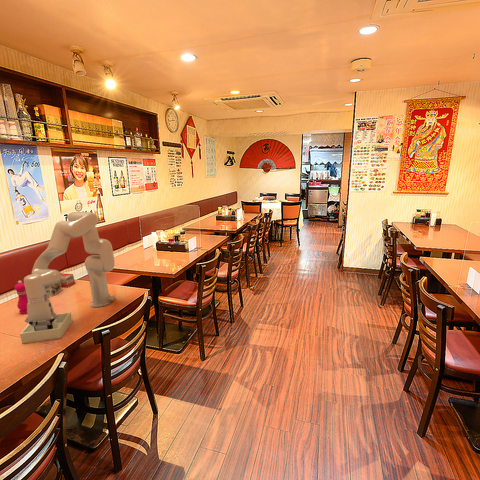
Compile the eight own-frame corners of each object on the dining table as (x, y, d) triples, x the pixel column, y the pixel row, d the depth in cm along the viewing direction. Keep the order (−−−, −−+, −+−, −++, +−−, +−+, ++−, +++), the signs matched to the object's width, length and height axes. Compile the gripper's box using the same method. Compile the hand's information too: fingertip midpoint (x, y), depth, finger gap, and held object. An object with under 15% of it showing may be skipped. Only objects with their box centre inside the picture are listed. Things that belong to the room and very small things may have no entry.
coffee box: (54, 296, 191) (49, 273, 187) (44, 296, 191) (40, 274, 187) (62, 290, 200) (58, 269, 196) (53, 290, 200) (49, 269, 196)
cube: (52, 328, 147) (50, 320, 145) (48, 334, 142) (46, 325, 141) (41, 330, 146) (39, 321, 144) (36, 335, 141) (34, 326, 140)
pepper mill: (25, 315, 166) (18, 283, 162) (15, 314, 168) (8, 282, 163) (36, 309, 173) (30, 278, 168) (27, 308, 175) (20, 278, 170)
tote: (72, 321, 159) (70, 312, 157) (61, 338, 142) (59, 328, 141) (37, 325, 155) (35, 316, 153) (22, 343, 139) (19, 333, 137)
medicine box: (49, 287, 207) (47, 276, 205) (58, 282, 215) (56, 272, 213) (67, 288, 204) (65, 277, 202) (75, 283, 212) (73, 273, 210)
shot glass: (47, 331, 147) (44, 319, 146) (40, 328, 151) (38, 316, 149) (60, 325, 153) (58, 314, 151) (54, 322, 157) (52, 311, 155)
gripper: (59, 293, 145) (65, 325, 149) (21, 297, 141) (29, 330, 145) (53, 300, 138) (60, 333, 142) (13, 304, 134) (21, 338, 138)
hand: (44, 331), depth 144 cm, fingers closed on cube, 4 cm apart
